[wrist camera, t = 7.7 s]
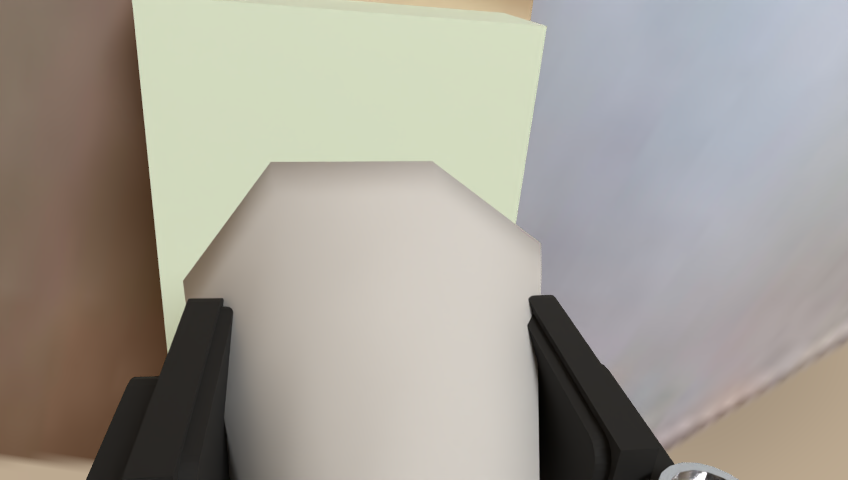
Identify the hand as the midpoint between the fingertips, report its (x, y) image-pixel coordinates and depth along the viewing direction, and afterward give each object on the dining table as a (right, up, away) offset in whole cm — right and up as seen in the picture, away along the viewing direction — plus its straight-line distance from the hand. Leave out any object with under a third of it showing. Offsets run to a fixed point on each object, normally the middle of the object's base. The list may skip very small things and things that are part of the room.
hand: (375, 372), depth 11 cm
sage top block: (-2, +5, +12) cm, 13 cm away
